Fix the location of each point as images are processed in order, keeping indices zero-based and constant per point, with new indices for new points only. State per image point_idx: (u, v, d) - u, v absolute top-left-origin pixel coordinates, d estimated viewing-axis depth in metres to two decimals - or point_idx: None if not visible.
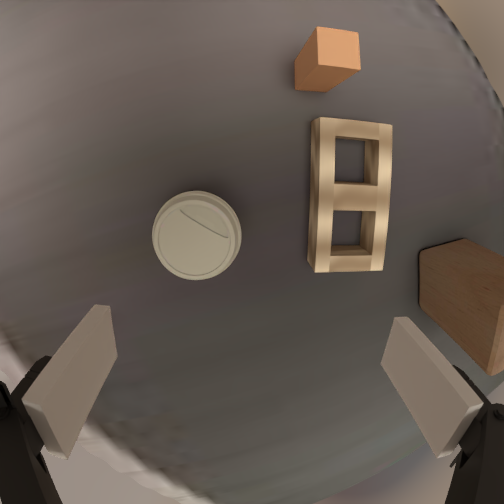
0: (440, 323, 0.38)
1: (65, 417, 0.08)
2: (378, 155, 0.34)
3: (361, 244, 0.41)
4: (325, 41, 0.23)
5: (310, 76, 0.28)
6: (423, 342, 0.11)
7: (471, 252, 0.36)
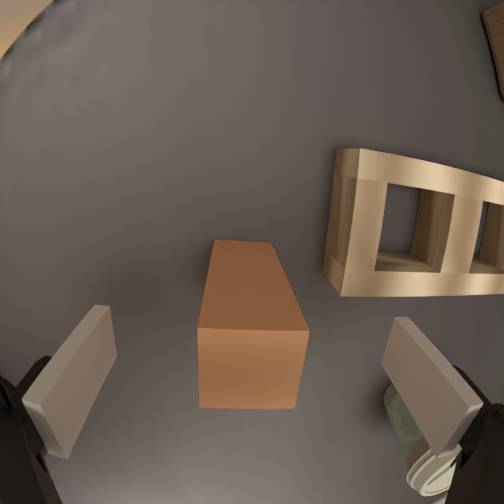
0: None
1: (65, 417, 0.08)
2: (411, 186, 0.18)
3: None
4: (236, 396, 0.12)
5: None
6: (423, 342, 0.11)
7: None
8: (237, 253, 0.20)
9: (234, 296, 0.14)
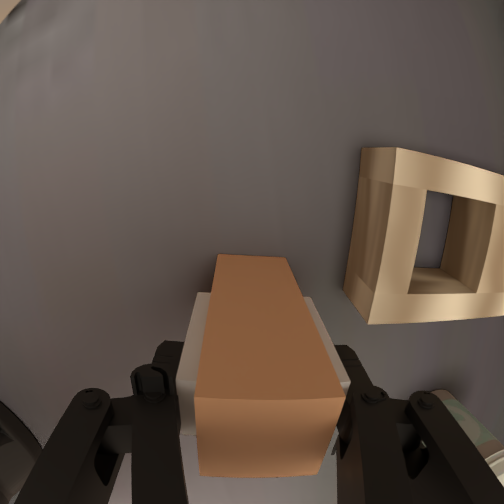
0: None
1: None
2: None
3: None
4: (246, 466, 0.08)
5: None
6: None
7: None
8: (246, 273, 0.16)
9: (244, 341, 0.10)
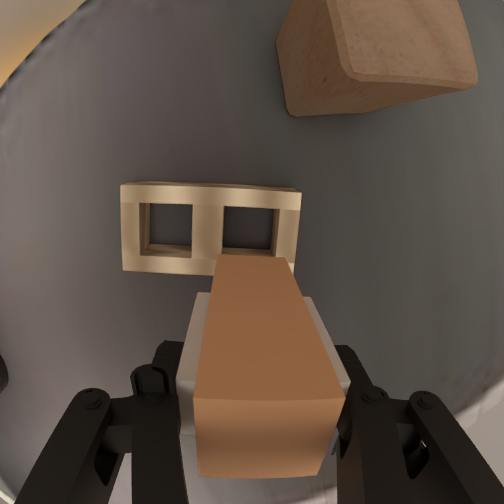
0: (388, 106, 0.26)
1: None
2: (157, 202, 0.30)
3: None
4: (246, 467, 0.08)
5: None
6: None
7: (287, 51, 0.25)
8: (245, 273, 0.16)
9: (243, 342, 0.10)
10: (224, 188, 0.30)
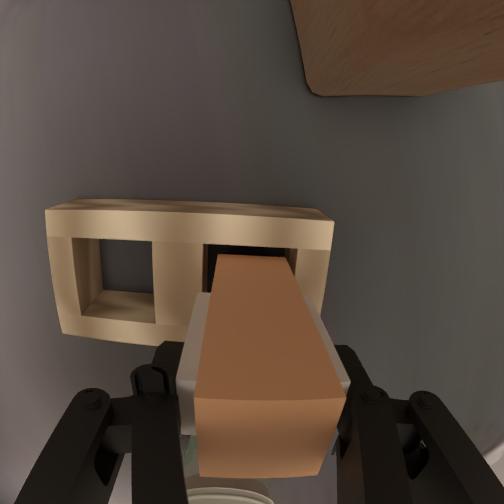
0: (471, 85, 0.13)
1: None
2: (98, 237, 0.18)
3: None
4: (246, 467, 0.08)
5: None
6: None
7: None
8: (246, 273, 0.16)
9: (244, 342, 0.10)
10: None
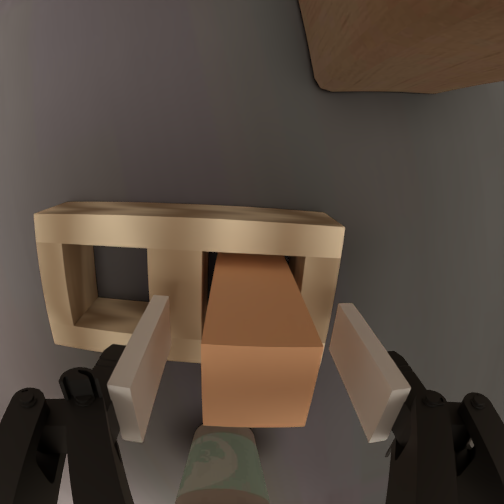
0: (489, 82, 0.12)
1: (143, 400, 0.09)
2: (90, 243, 0.16)
3: None
4: (243, 414, 0.11)
5: None
6: (361, 326, 0.13)
7: None
8: (244, 257, 0.19)
9: (241, 307, 0.12)
10: (203, 219, 0.16)
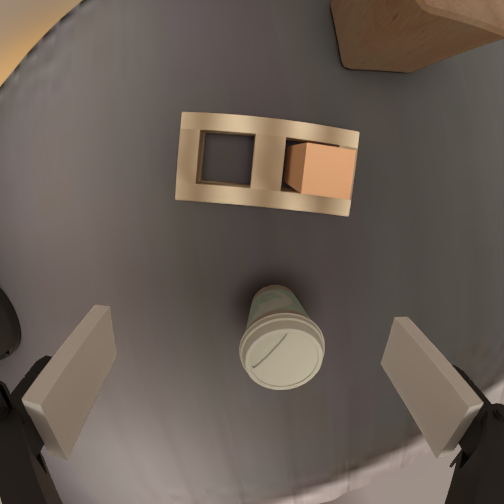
0: (434, 61, 0.25)
1: (65, 417, 0.08)
2: (219, 130, 0.30)
3: (327, 145, 0.34)
4: (321, 186, 0.24)
5: None
6: (423, 342, 0.11)
7: (347, 7, 0.24)
8: None
9: None
10: (287, 121, 0.29)
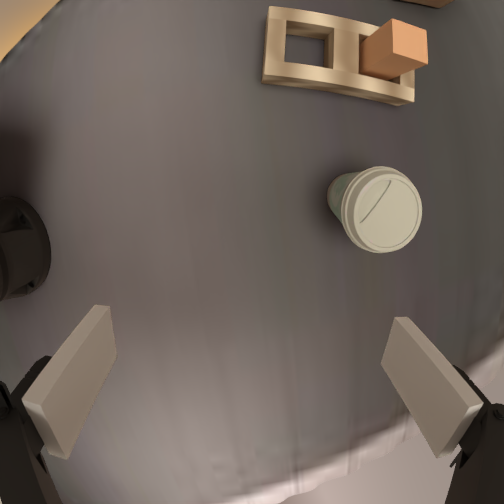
0: None
1: (65, 417, 0.08)
2: (302, 23, 0.28)
3: None
4: (406, 50, 0.23)
5: None
6: (423, 342, 0.11)
7: None
8: None
9: None
10: (358, 22, 0.28)
